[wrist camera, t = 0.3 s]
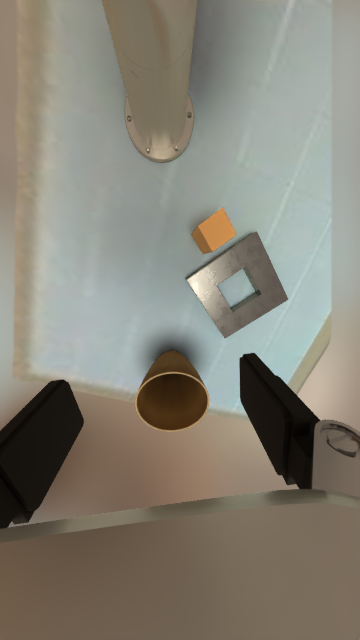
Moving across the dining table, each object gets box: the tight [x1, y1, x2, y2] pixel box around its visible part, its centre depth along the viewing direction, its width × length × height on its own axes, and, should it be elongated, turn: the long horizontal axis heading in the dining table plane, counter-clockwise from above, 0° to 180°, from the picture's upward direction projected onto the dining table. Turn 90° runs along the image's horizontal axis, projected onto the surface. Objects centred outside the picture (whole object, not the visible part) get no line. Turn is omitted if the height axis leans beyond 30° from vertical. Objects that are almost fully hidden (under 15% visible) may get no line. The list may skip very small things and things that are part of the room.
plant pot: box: [135, 350, 209, 432], centre depth 42 cm, size 15×15×16 cm
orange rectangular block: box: [191, 208, 237, 254], centre depth 35 cm, size 5×5×10 cm
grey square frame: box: [186, 232, 288, 338], centre depth 42 cm, size 18×18×3 cm
